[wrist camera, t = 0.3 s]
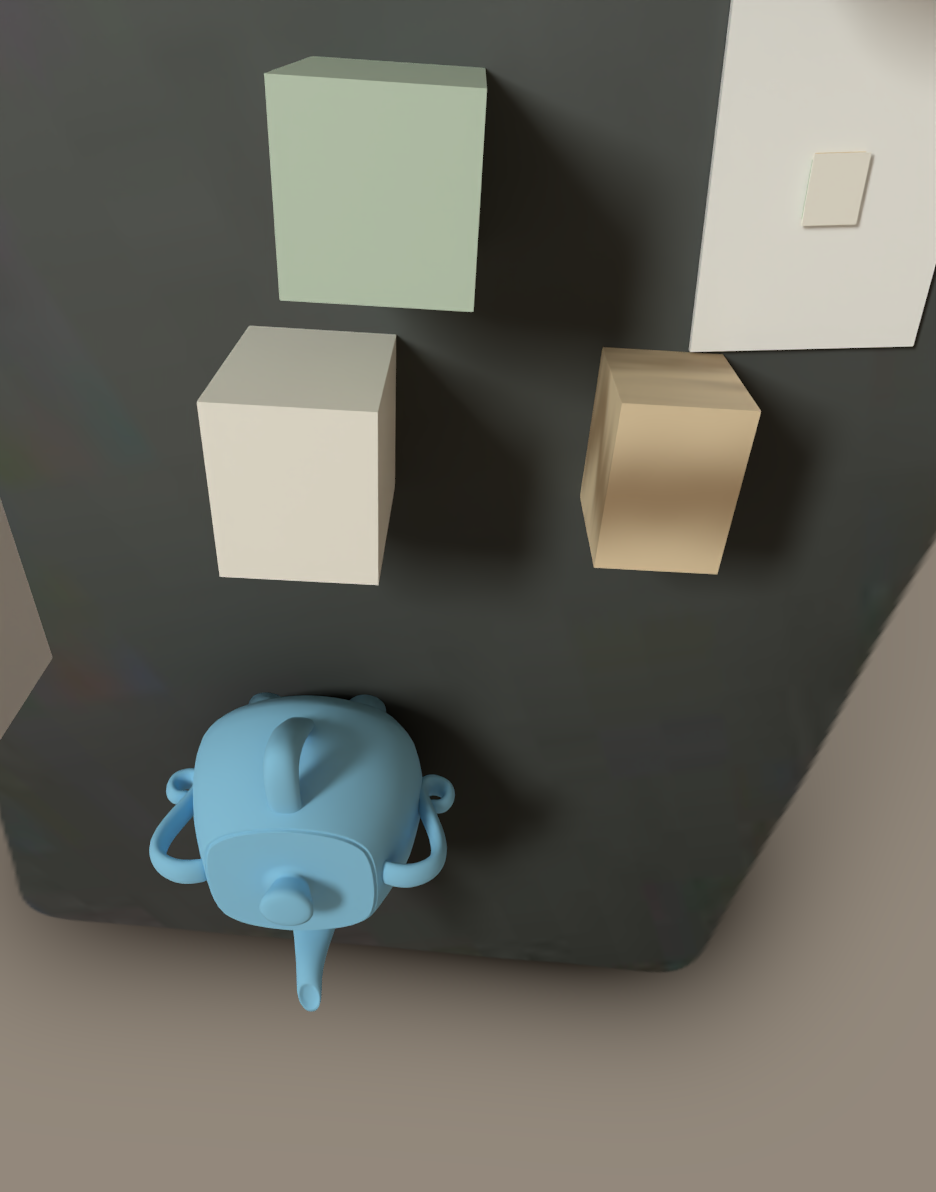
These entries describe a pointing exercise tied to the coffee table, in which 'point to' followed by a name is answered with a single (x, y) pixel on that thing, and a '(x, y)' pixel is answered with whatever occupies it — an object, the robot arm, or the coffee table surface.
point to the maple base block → (665, 459)
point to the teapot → (304, 818)
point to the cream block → (302, 454)
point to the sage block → (376, 181)
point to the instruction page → (820, 178)
